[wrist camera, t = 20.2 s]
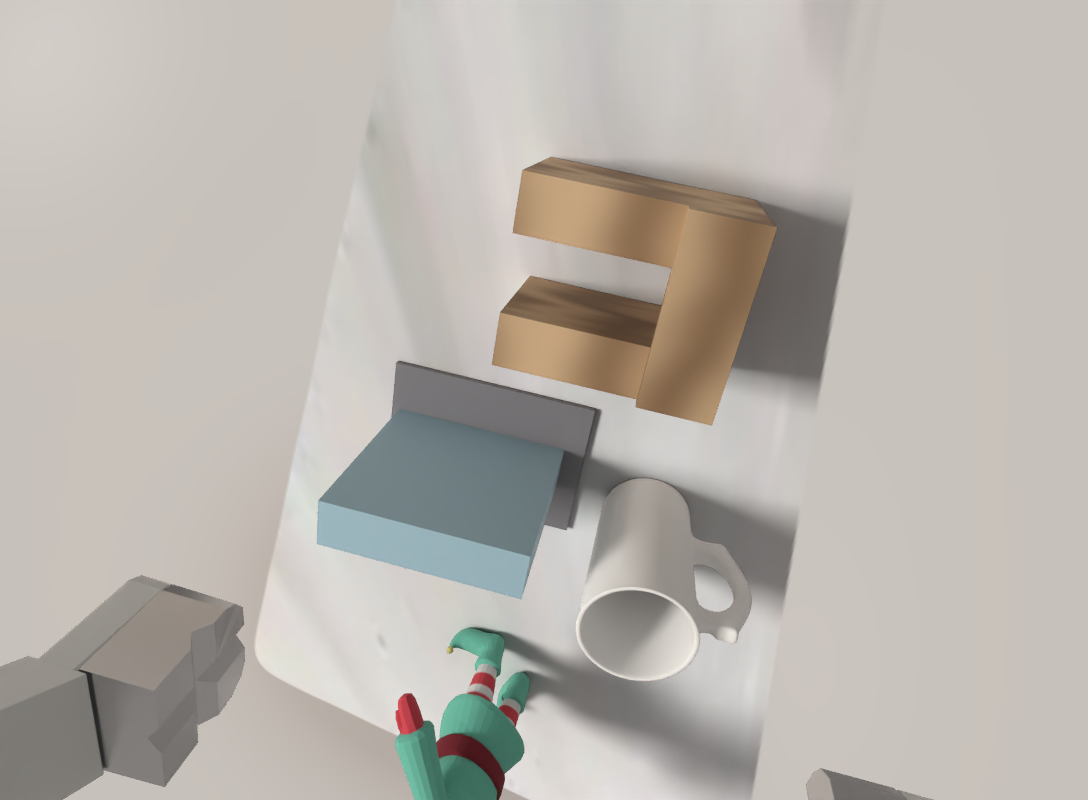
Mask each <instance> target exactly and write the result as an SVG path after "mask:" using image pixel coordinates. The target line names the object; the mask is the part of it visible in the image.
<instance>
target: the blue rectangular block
mask: <svg viewBox="0 0 1088 800" xmlns="http://www.w3.org/2000/svg"><path fill="white" fill-rule="evenodd" d="M563 453H564V450H563V449H559V448H555V447H551V446H547V445H543V444H539V443H535V442H531V441H527V440H523V439H519V438H514V437H510V436H506V435H502V434H498V433H494V432H490V431H486V430H482V429H478V428H474V427H470V426H466V425H462V424H458V423H454V422H450V421H446V420H442V419H438V418H434V417H430V416H426V415H422V414H418V413H414V412H410V411H406V410H402V409H399V410H398V412H397V413H396V414H395V415H394V416H393V417H392V418H391V419H390V421H389V422H388V423H387V424H386V425H385V426H384V427H383V428H382V430H381V431H380V432H379V433H378V434H377V435H376V436H375V437H374V439H373V440H372V441H371V442H370V443H369V444H368V445H367V446H366V448H365V449H364V450H363V451H362V452H361V453H360V454H359V455H358V457H357V458H356V459H355V460H354V461H353V462H352V463H351V464H350V466H349V467H348V468H347V469H346V470H345V471H344V472H343V474H342V475H341V476H340V477H339V478H338V479H337V480H336V481H335V483H334V484H333V485H332V486H331V487H330V488H329V489H328V490H327V492H326V493H325V494H324V495H323V496H322V497H321V498H320V499H319V501H318V525H317V544H319V545H323V546H326V547H330V548H334V549H337V550H341V551H345V552H349V553H352V554H356V555H360V556H363V557H367V558H371V559H374V560H378V561H382V562H386V563H389V564H393V565H397V566H400V567H404V568H408V569H411V570H415V571H419V572H422V573H426V574H430V575H434V576H437V577H441V578H445V579H448V580H452V581H456V582H459V583H463V584H467V585H470V586H474V587H478V588H482V589H485V590H489V591H493V592H496V593H500V594H504V595H507V596H511V597H515V598H519V599H522V595H523V592H524V589H525V586H526V582H527V579H528V576H529V573H530V569H531V566H532V563H533V560H534V556H535V553H536V550H537V547H538V543H539V540H540V537H541V534H542V530H543V527H544V524H545V521H546V517H547V514H548V511H549V508H550V504H551V501H552V498H553V495H554V491H555V488H556V484H557V480H558V476H559V471H560V467H561V462H562V458H563Z"/></svg>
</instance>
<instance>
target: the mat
mask: <svg viewBox="0 0 1088 800" xmlns="http://www.w3.org/2000/svg"><path fill="white" fill-rule="evenodd" d="M399 409H402V410H406V411H410V412H414V413H418V414H422V415H426V416H430V417H434V418H438V419H442V420H446V421H450V422H454V423H458V424H462V425H466V426H470V427H474V428H478V429H482V430H486V431H490V432H494V433H498V434H502V435H506V436H510V437H514V438H519V439H523V440H527V441H531V442H535V443H539V444H543V445H547V446H551V447H555V448H559V449H563V450H564V453H563V458H562V462H561V467H560V471H559V476H558V480H557V484H556V488H555V491H554V495H553V498H552V501H551V504H550V508H549V511H548V514H547V517H546V521H545V524H544V525H548V526H552V527H556V528H560V529H564V530H567V526H568V522H569V518H570V514H571V509H572V505H573V501H574V497H575V493H576V489H577V484H578V480H579V476H580V472H581V468H582V464H583V459H584V455H585V451H586V447H587V443H588V438H589V434H590V430H591V426H592V422H593V418H594V413H595V409H596V408H592V407H587V406H583V405H579V404H575V403H571V402H567V401H563V400H558V399H554V398H550V397H546V396H542V395H538V394H534V393H530V392H525V391H521V390H517V389H513V388H509V387H505V386H501V385H497V384H492V383H488V382H484V381H480V380H476V379H472V378H468V377H464V376H459V375H455V374H451V373H447V372H443V371H439V370H435V369H431V368H426V367H422V366H418V365H414V364H410V363H406V362H402V361H398V362H397V363H396V372H395V384H394V395H393V406H392V417H393V416H394V415H395V414H396V413H397V412H398V410H399Z"/></svg>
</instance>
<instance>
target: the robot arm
mask: <svg viewBox="0 0 1088 800" xmlns="http://www.w3.org/2000/svg"><path fill="white" fill-rule="evenodd" d="M243 625H244V616H243V607H241V606H239V605H237V604H234V603H230V602H227V601H224V600H221V599H218V598H214V597H211V596H208V595H205V594H202V593H198V592H196V591H192V590H189V589H186V588H183V587H180V586H176V585H172V584H169V583H166V582H162V581H159V580H156V579H152V578H149V577H146V576H142V575H141V576H139V577H136V578H133V579H131V580H129V581H127V582H126V583H125V584H124V585H123V586H121V587H120V588H119V589H118V590H117V591H116V592H114V594H112V595H111V596H110V597H109V598H108V599H106V600H105V601H104V602H103V603H102V604H101V605H99V606H98V607H97V608H96V609H95V610H94V611H93V612H91V613H90V614H89V615H88V616H87V617H86V618H85V619H83V621H81V622H80V623H79V624H78V625H77V626H75V627H74V628H73V629H72V630H71V631H70V632H69V633H68V634H66V635H65V636H64V637H63V638H62V639H60V640H59V641H58V642H57V643H56V644H55V645H54V646H53V647H51V648H50V649H49V650H48V651H47V652H46V653H44V654H43V655H42V656H41V657H40V658H39V659H37V658H33V657H29V656H27V657H24V658H22V659H19V660H17V661H14V662H11V663H9V664H6V665H3V666H1V667H0V800H63V799H64V798H66V797H68V796H69V795H71V794H73V793H74V792H76V791H77V790H79V789H81V788H82V787H84V786H86V785H87V784H89V783H91V782H92V781H94V780H95V779H97V778H99V777H100V776H102V775H103V773H104V772H103V770H105V771H109V772H112V773H116V774H120V775H123V776H127V777H130V778H134V779H137V780H141V781H145V782H148V783H152V784H155V785H159V786H163V787H165V786H166V785H167V783H168V782H169V781H170V779H171V778H172V776H173V775H174V774H175V773H176V771H177V770H178V769H179V767H180V766H181V765H182V763H183V762H184V761H185V759H186V758H187V757H188V755H189V754H190V753H191V751H192V750H193V749H194V747H195V746H196V745H197V743H198V725H199V724H201V723H203V722H205V721H207V720H209V719H211V718H213V717H215V716H217V715H219V713H220V712H221V711H222V709H223V708H224V707H225V705H226V704H227V702H228V701H229V700H230V698H231V697H232V695H233V692H234V690H235V688H236V686H237V684H238V682H239V680H240V677H241V675H242V670H243V666H244V662H245V647H244V646H243V644H242V643H241V641H240V640H239V639H238V637H237V636H236V634H237V633H238V631H239V630H240V629H241V628H242V626H243ZM806 787H807V793H808V799H809V800H932V799H928V798H925V797H921V796H917V795H914V794H911V793H907V792H903V791H899V790H895V789H894V788H891V787H888V786H884V785H880V784H876V783H873V782H869V781H865V780H861V779H858V778H854V777H851V776H847V775H843V774H839V773H836V772H832V771H828V770H825V769H819V770H817V771H815V772H814V773H813V774H812V776H811V777H810V779H809V781H808V783H807V784H806Z"/></svg>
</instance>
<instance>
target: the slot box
mask: <svg viewBox="0 0 1088 800" xmlns="http://www.w3.org/2000/svg"><path fill="white" fill-rule="evenodd" d="M776 230H777V226H776V225H775V224H774V223H773V221H772V220H771V219H770V218H769V216H768V215H767V214H766V213H765V211H764V210H763V209H762V208H761V206H760V205H759V204H758V203H757V201H756V200H753V199H748V198H743V197H738V196H734V195H729V194H724V193H719V192H715V191H710V190H705V189H700V188H696V187H691V186H686V185H681V184H677V183H672V182H667V181H662V180H658V179H653V178H648V177H643V176H639V175H634V174H629V173H624V172H620V171H615V170H610V169H605V168H601V167H596V166H591V165H586V164H582V163H577V162H572V161H567V160H563V159H558V158H553V157H550V158H547V159H545V160H543V161H541V162H539V163H537V164H535V165H532V166H530V167H528V168H526V169H524V170H522V176H521V183H520V189H519V195H518V202H517V208H516V214H515V221H514V227H513V233H516V234H520V235H525V236H529V237H534V238H538V239H543V240H547V241H552V242H556V243H561V244H565V245H570V246H574V247H579V248H583V249H588V250H592V251H597V252H602V253H606V254H611V255H615V256H620V257H624V258H629V259H633V260H638V261H642V262H647V263H651V264H656V265H660V266H665V267H669V268H672V269H671V273H670V277H669V280H668V284H667V288H666V292H665V295H664V299H663V303H662V306H660V305H655V304H651V303H647V302H642V301H638V300H633V299H629V298H625V297H620V296H616V295H611V294H607V293H603V292H598V291H594V290H589V289H585V288H581V287H576V286H572V285H567V284H563V283H558V282H554V281H550V280H545V279H541V278H536V277H532V276H530V277H529V278H528V279H527V280H526V282H525V283H524V284H523V285H522V286H521V288H520V289H519V290H518V291H517V293H516V294H515V295H514V296H513V297H512V299H511V300H510V301H509V302H508V304H507V305H506V306H505V307H504V308H503V310H502V311H501V312H500V316H499V323H498V329H497V335H496V342H495V348H494V354H493V361H492V365H495V366H499V367H504V368H508V369H512V370H516V371H520V372H524V373H529V374H533V375H537V376H541V377H545V378H550V379H554V380H558V381H562V382H566V383H570V384H575V385H579V386H583V387H587V388H591V389H595V390H600V391H604V392H608V393H612V394H616V395H620V396H625V397H629V398H633V399H637V400H636V407H637V408H641V409H645V410H649V411H653V412H658V413H662V414H666V415H670V416H674V417H678V418H682V419H687V420H691V421H695V422H699V423H703V424H707V425H712V424H713V421H714V418H715V415H716V412H717V409H718V406H719V403H720V400H721V397H722V394H723V391H724V388H725V385H726V382H727V379H728V376H729V373H730V370H731V367H732V364H733V361H734V358H735V355H736V351H737V348H738V345H739V342H740V339H741V336H742V333H743V330H744V327H745V324H746V321H747V318H748V315H749V312H750V309H751V306H752V303H753V300H754V297H755V294H756V291H757V288H758V285H759V282H760V279H761V276H762V273H763V270H764V267H765V264H766V261H767V258H768V255H769V252H770V249H771V246H772V243H773V240H774V237H775V234H776Z"/></svg>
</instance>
